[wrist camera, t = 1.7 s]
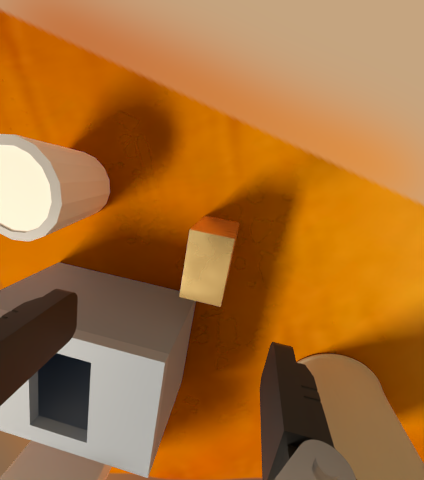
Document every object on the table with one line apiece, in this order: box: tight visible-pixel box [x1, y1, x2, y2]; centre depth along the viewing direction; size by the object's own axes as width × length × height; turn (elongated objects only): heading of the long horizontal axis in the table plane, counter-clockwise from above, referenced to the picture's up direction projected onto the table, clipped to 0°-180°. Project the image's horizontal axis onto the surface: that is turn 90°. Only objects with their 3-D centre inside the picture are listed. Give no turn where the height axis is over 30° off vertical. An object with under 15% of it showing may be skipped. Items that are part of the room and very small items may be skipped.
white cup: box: [0, 134, 110, 241], centre depth 20 cm, size 7×7×7 cm
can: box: [297, 354, 424, 480], centre depth 19 cm, size 9×9×12 cm
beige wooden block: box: [179, 216, 240, 307], centre depth 21 cm, size 3×5×6 cm, turn 170°
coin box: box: [0, 262, 196, 478], centre depth 22 cm, size 14×10×9 cm
